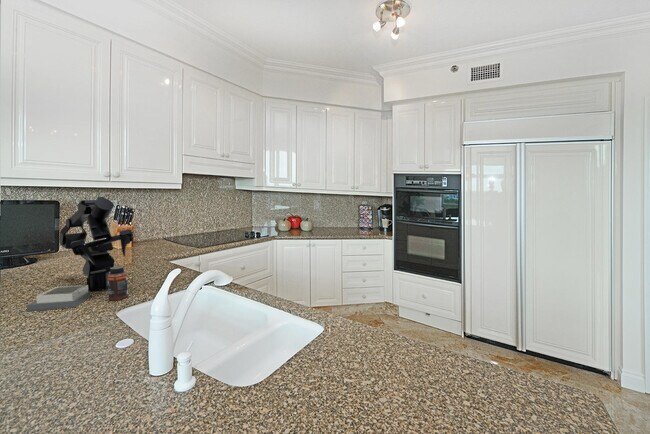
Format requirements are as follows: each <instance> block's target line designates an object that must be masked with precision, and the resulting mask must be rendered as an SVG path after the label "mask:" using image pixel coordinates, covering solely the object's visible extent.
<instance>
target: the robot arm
mask: <svg viewBox="0 0 650 434" xmlns="http://www.w3.org/2000/svg"><path fill="white" fill-rule="evenodd" d="M114 204H115V203H114V202H112V201H111V200H109V199H107V198H105V196H97V199H82V200H79V203H78V204H77V210H76V211H75V212H74V213H73V214H72V215H71V216H70V217H69V218H67V219H66V220H65V225H64V226H63V227H62V229H60V230H59V237H58V242H59V245H60V246H61V247H62V248H64V249H67V250H71V251H72V252H73V254H74V256H80V257H82V258H83V259H84V260H85V263H84V265H83V267H82V273H83V276H87V278H86V285H88V291H92V292H93V291H94V292H95V291H106V290H107V289H108V279H107V276H108V275H109V274H110V268H112V267H115V260H114V259H115V258H114V257H113V256H112V255H111V254H110V252H111V251H113V249H114V246H113V243H114V242H118V241H120V246H121V252H122V255H123V257H126V250H127V249H126V248H127V245H129V244H131V242H133V241H134V234H133V232H132V230H131V229H130V228H127V229H126V228H125V229H122V230H119V231H118V233H119V234H117V235H113V236H112V233H111V231H110V230H111V229H110V227H109V225H108V221H107V219H108V218H110V215H111V213H112V211H113V209H114V207H115V205H114ZM85 223H86V225H88V227H89V230H90V234H91V236H92V240H91V241H87V236H88V235H87V234H88V233H87V231H86V229H85V228H84V224H85ZM71 228H80V229H81V232H73V233H68V232H69V231H70V230H71ZM109 251H110V252H109Z"/></svg>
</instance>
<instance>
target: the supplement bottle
mask: <svg viewBox="0 0 650 434" xmlns="http://www.w3.org/2000/svg"><path fill="white" fill-rule="evenodd" d="M124 268H125V267H124V266H122V265H120V266H119V265H118V266H114V267H112V268H110V272H109V275H108V276H107V279H108V288H107V289H108V290H107V291H108V293H107V294H108V300H110V301H119V300H123V299H126V298H128V297H129V286H128V285H129V283H128V273H127V272H126V271H124V270H125V269H124Z"/></svg>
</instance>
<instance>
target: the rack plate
mask: <svg viewBox="0 0 650 434" xmlns="http://www.w3.org/2000/svg"><path fill="white" fill-rule="evenodd" d="M35 297H36V298H35V300H34V301H32V302H30V303H28V304H26V312H32V311H34V312H35V311H45V310H46V311H47V310H58V309H57V308H61V309H67V308H66V307H74V308H75V306H76V307H77V306H79V305H80V304H82V303H84V302H85V301H86V300H88V299H89V298H91V297H92V292H91V291H88V285H87V284H82V285H68V286H67V285H66V286H55V287H53V288H51V289H49V290H47V291H44V292H42V293H40V294H38V295H36V296H35ZM81 302H82V303H81ZM78 304H79V305H78Z"/></svg>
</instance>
